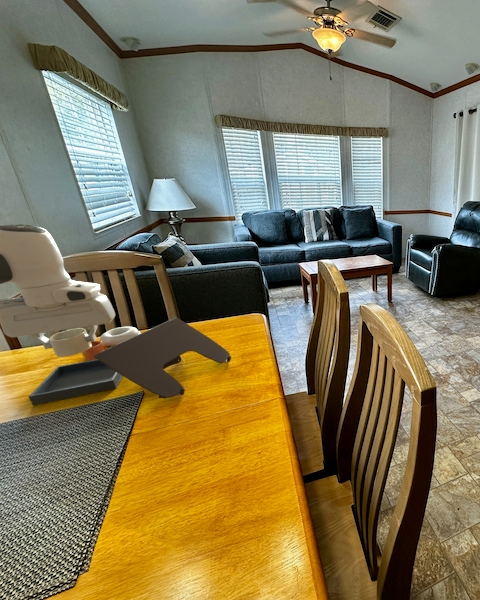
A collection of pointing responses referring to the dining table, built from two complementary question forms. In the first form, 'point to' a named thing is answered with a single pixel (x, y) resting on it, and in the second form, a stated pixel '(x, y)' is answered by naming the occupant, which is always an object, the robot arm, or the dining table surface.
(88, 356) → the terracotta bowl
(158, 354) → the laptop tray
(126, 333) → the donut
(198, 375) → the dining table surface
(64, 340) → the cream bowl
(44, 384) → the tray
